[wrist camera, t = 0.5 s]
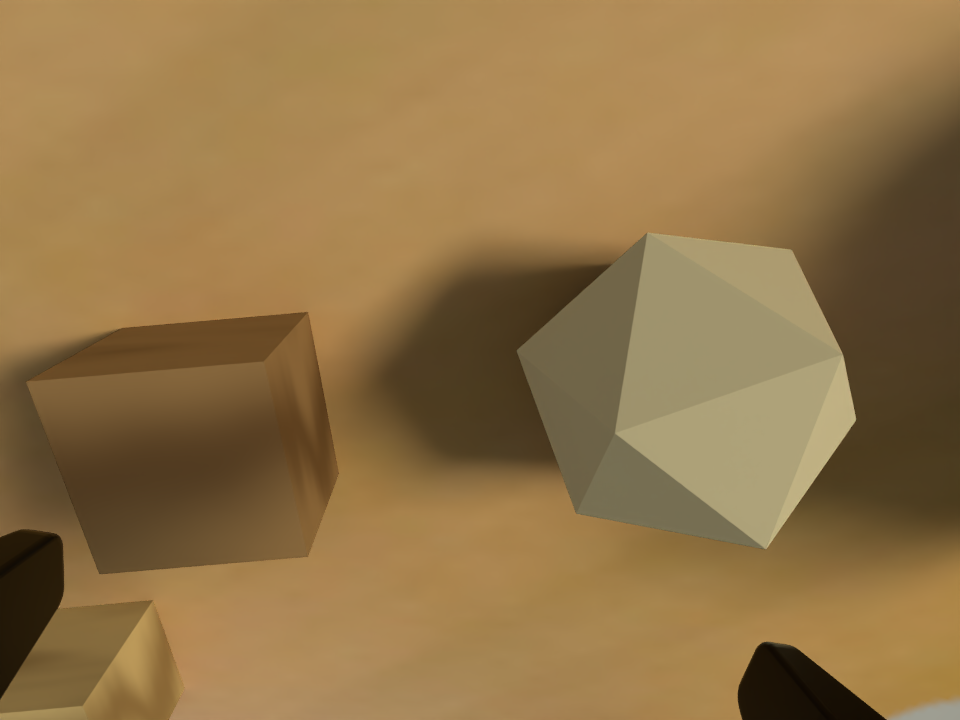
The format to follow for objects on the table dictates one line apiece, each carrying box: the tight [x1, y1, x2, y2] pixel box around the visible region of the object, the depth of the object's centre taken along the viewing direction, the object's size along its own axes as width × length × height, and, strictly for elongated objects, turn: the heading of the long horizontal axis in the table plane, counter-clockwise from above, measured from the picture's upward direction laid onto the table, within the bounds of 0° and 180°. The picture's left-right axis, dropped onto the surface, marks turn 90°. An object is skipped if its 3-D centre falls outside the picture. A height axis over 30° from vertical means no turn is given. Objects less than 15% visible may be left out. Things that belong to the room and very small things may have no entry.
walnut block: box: [26, 312, 339, 574], centre depth 19 cm, size 6×6×5 cm
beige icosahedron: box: [517, 233, 856, 549], centre depth 18 cm, size 8×9×10 cm
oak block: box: [0, 600, 184, 720], centre depth 23 cm, size 5×5×5 cm
